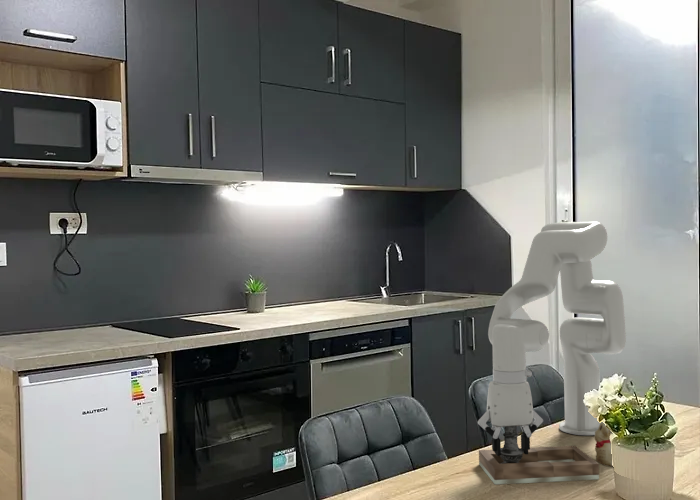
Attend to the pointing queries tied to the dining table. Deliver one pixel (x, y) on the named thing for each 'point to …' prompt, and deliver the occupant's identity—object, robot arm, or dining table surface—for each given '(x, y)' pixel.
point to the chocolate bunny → (603, 445)
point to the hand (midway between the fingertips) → (511, 452)
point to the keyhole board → (540, 466)
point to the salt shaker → (511, 446)
